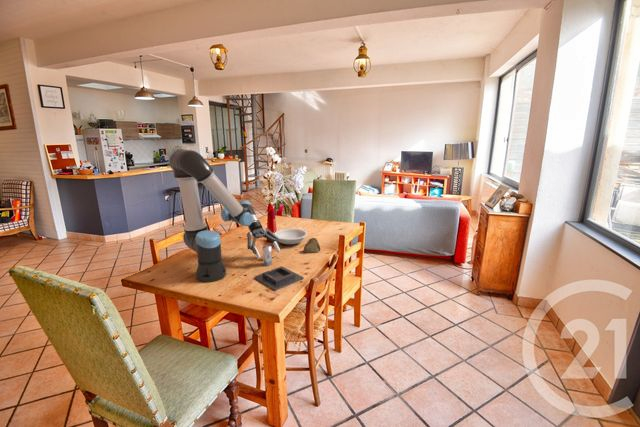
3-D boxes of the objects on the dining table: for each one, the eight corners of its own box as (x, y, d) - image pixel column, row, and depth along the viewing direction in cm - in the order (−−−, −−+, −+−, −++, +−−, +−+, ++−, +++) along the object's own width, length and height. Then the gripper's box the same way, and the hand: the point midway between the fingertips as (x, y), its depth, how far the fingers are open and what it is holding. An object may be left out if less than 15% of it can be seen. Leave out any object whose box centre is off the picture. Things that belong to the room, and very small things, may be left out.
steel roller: (266, 266, 170) (265, 248, 167) (261, 264, 173) (260, 246, 170) (274, 264, 173) (273, 246, 170) (269, 261, 176) (268, 244, 174)
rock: (298, 249, 189) (312, 250, 184) (302, 236, 193) (315, 237, 187) (307, 255, 198) (320, 256, 193) (310, 242, 201) (323, 243, 196)
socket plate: (274, 290, 143) (274, 285, 143) (254, 278, 156) (254, 272, 155) (303, 279, 155) (303, 273, 155) (282, 268, 168) (282, 263, 167)
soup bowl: (266, 246, 202) (265, 236, 200) (283, 235, 224) (282, 226, 222) (298, 251, 193) (298, 241, 192) (312, 239, 215) (312, 230, 213)
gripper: (268, 223, 190) (284, 252, 183) (232, 231, 173) (248, 263, 166) (273, 216, 185) (289, 246, 178) (236, 224, 168) (252, 257, 161)
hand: (269, 254), depth 172 cm, fingers open, 13 cm apart
